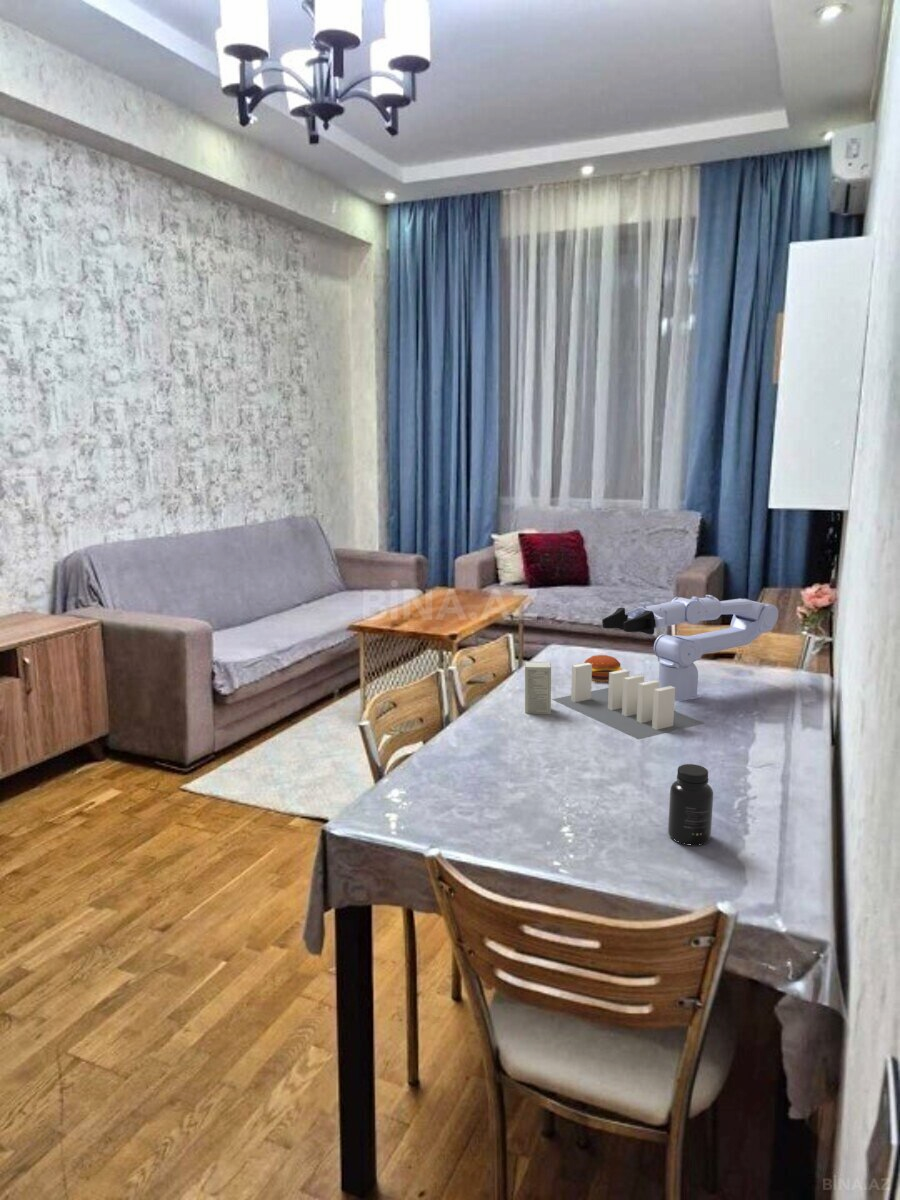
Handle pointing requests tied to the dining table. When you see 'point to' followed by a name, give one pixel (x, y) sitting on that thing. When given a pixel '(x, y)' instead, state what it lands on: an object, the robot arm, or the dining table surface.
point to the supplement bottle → (691, 806)
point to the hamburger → (603, 667)
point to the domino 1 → (581, 682)
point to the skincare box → (538, 687)
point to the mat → (622, 716)
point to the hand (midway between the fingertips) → (613, 625)
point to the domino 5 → (663, 707)
